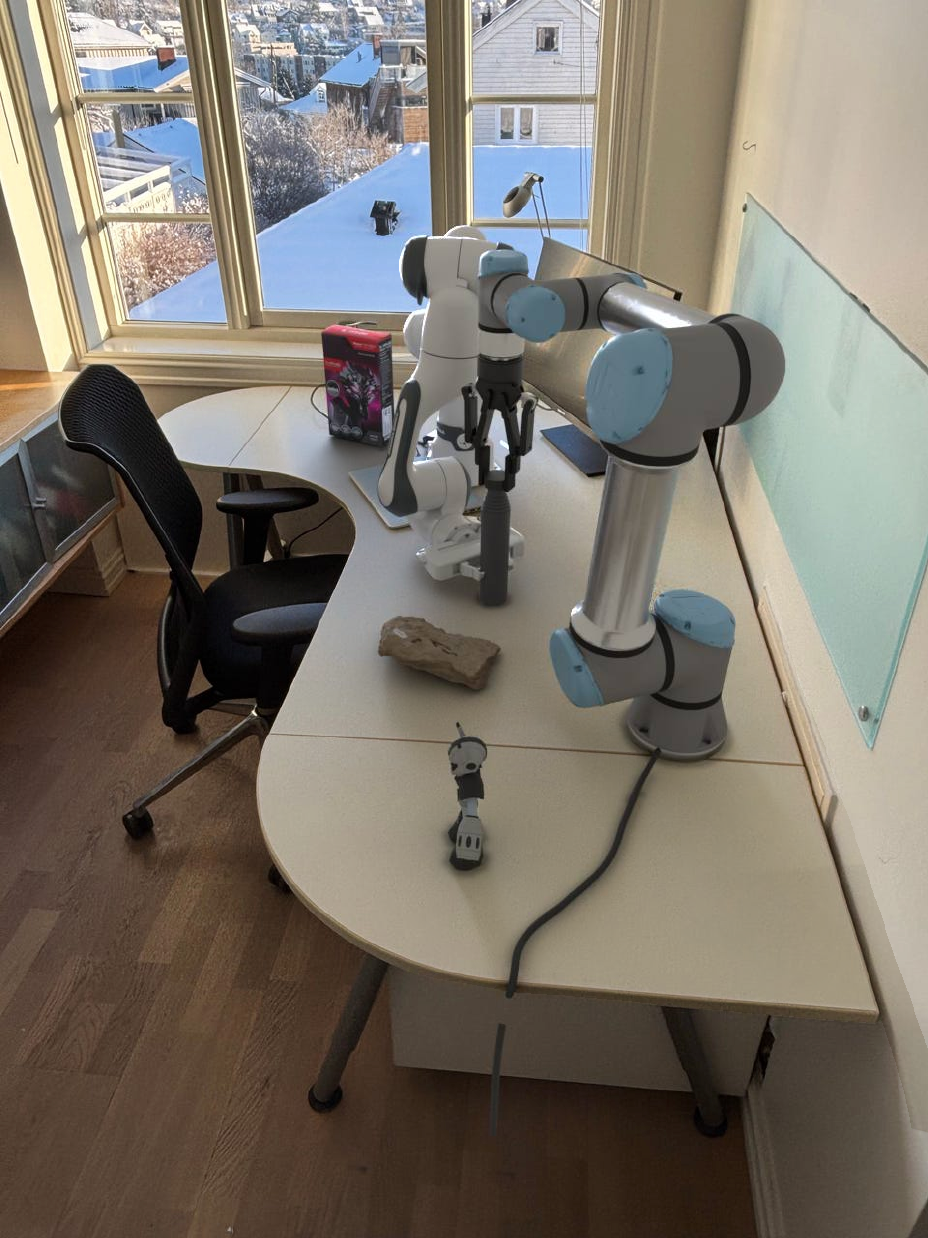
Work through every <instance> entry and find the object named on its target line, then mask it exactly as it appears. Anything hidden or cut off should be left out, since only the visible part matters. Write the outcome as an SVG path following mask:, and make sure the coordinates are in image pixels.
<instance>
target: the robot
mask: <svg viewBox="0 0 928 1238" xmlns="http://www.w3.org/2000/svg"><path fill="white" fill-rule="evenodd" d="M455 726H456V730H457V733H458V735H459V737H458V738H456V739H455V740H453V742H452V743H450V745H449V747H448V748H447V756H448V757H447V758H448V761H449V762H450V773H451V775H452V776H453V777H454V778H453V779H454V781H455V783H456V785H457V787H458V788H456V795H457V796H456V797H457V803H458V804H459V806H460V811H459V813H458V816H457V818H456V820H455V821H454V823H453V824H452V826H451V827H450V828H449V830H448V832H447V834H448V837H449V839H450V842H452V843H454V844H455V845H454V847H453V849H452V852H451V854H450V858H449V863H450V864H451V865H452V866H453V867H454V868H455V869H457V870H460V871H470V870H472V869H474V868H477V867H479V866H481V865H482V861H483V858H484V852H483V850H484V849H483V848H484V847H483V840H484V826H483V822H482V819H481V818H480V816H478V808H479V807H478V806H479V801H478V799H480V800H485V785H484V781H483V778H482V773H481V769H482V768H483V765H482V764H483V763H484V762H485V761H486V759H487V758H488V746H487V745H486V742H484V741H483V740H482V739H481V738H480V737H478V736H475V735H472V734H466V733H465V730H464V729H463V727H462V725H461V723H460V722H459V721H457V722H456V723H455Z"/></svg>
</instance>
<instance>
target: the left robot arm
mask: <svg viewBox="0 0 928 1238" xmlns="http://www.w3.org/2000/svg"><path fill="white" fill-rule="evenodd" d="M492 250H515V251H516V249H515V248H514V246H511V245H510V244H507V243H504V242H501V241H498V242H497V243H496V242H493V241H489V240H488V238H487V237H486V235H485V233H483V231H481V230H480V229H478V228H476V227H474V226H471V225H458V226H455V227H454V228H451V229H450V230H449V231H448V232H446V234H444V236H429V235H428V234H427V235H426V234H425V235H417V236H412V237H410V238H409V239H408V240H407V242H405V245H404V248H403V250H402V252H401V255H400V258H399V274H400V278H401V281H402V287H404V289H405V290H406V292H407V293H408V294H409V296H411V297H412V298H414V299H416V302H417V305H418V306H420V307H422V305H423V301H424V298H426V299H427V300H428V303H427V306H426V308H425V309H420V310H416V311H413V312H412V313H411V314H410V315H408V318H407V319H406V322H405V324H404V326H403V327H404V328H403V340H404V344H405V346H406V348H407V351H408V352H409V353H410V354H411V355H412V356H413V357H414V358H416V360H418V361H417V364H416V366H415V370H414V371H413V373H412V374H411V376H410V378H409V379H408V380H407V381H406V382H405V383H404V384H403V385H402V387H401V388H400V392H399V395H398V399H397V403H396V406H395V410H394V413H395V415H394V420H393V425H392V430H391V435H390V439H389V443H388V444H387V448H386V449H387V450H386V455H385V459H384V463H383V465H382V468H381V471H380V472H379V476H378V479H377V483H376V493H377V498H378V502H379V504H380V505H381V506H382V508H383V509H385V510H386V511H387V512H388V513H390V514H392V515H393V516H395V517H398V518H404V517H405V518H406V520H407V523H408V525H409V526H410V528H412V530H413V531H414V533H415V534H416V535H417V536H418V537H419V538H421V540H422V541H424V542H425V543H427V544H428V545H429V546H428V547H426V548H422V549H419V550H418V552H417V553H416V554H415V559H416V560H417V561H418V562H419V563H420V564H421V565H422V564H423V565H424V568H425V569H426V572H427V573H428V574H429V575H430V576H431V577H432V578H433V579H434V580H436V581H445V580H449V579H451V578H454V577H458V576H461V575H462V576H464V577H469V578H474V579H475V580H476V581H477V582H478V581H480V580H481V579H484V578H485V576H484V575H485V571H484V570H483V569H482V568H481V567H480V548H481V516H473V515H472V516H470V515H463V514H464V513H465V511H466V509H467V507H468V504H469V501H470V498H471V494H472V488H473V487H478V486H479V485H478V475H479V465H476V464H475V447H474V446H473V445H472V444H471V443H466V442H465V434H464V398H463V395H462V392H461V388H462V387H464V386H466V385H467V384H469V383H473V384H475V383H476V381H477V379H478V376H477V356H478V355H479V352H478V351H477V343H478V275H479V262H480V258H481V256H482V255H483V254H484V253H486V252H488V251H492ZM477 400H478V424H479V420H480V415H481V412H480V410H481V406H482V402H483V400H482V399H481V397H480V395H479V393H478V395H477ZM437 412H438V416H437V418H436V423H435V428H436V429H434V430H432V431H431V432H429V433H427V434H426V435H424V436H423V437H422V440H419V439H420V434H421V430H422V429H423V426H424V424H425V422H427V420H428V419H429V418H430V417H431V416H433V415H434V414H435V413H437ZM487 441H488V442H487V443H486V444H485V446H486V445H489V446H490V471H491V470H502V468H501V467H500V466H499V465H498V464H497V463H496V461H495V442H494V441H493V440H492V438H491V437H489V436H488V438H487ZM499 444H500V445H501V446H503V447H504V448H507V450H509V448H508V443H506V442H504V441H503V440H500V441H499ZM418 445H421V446H425V445H426V446H427V451H428V453H427V456H426V458H427V457H429V460H427V459H425V460H418V461H415V457H416V452H417V449H418V448H417V447H418ZM525 552H526V538H525V536H524V535H522V534H521V533H520V532H518V531H517V530H516V529H514V528H513V527H511V526H510V541H509V566H508V572H509V571H513V570H515V568H516V562H515V560H514V559H516V558H520V557H523V556H524V555H525Z"/></svg>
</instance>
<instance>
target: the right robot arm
mask: <svg viewBox="0 0 928 1238" xmlns="http://www.w3.org/2000/svg"><path fill="white" fill-rule="evenodd" d="M529 273H530V270H529V259H528V256H527V255H526V253H524V252H523V251H519V250H516V249H515V250H492V251H488V252H486V253H484V254H483V255H482V256H481V258H480V262H479V275H478V343H477V351H478V352H479V355H478V356H477V376H478V379H477V381H476V383H475V384H473V383H469V384H467V385H466V386H464V387H462V388H461V392H462V395H463V398H464V434H465V442H466V443H471V444H472V445H473V446H474V447H475V464H476V465H479V475H478V486H480V487H482V486H483V487H484V474H485V473H486V472H488V471H490V446H489V445H486V446H485V444H486V443H487V442H488V441H487V438H488V437H489V433H490V430H491V425H492V422H493V418H494V414H495V411H498V412H500V415H501V418H502V419H503V423H504V430H505V436H506V442H507V445H508V448H509V449H508V448H507V449H508V454H507V455H505V456H504V471H505V478H504V492H506V493H507V494H508V493H509V492H511V491H512V490H513V489H515V488H516V477H517V474H518V473H519V472H520V470H521V460H522V457H525V456H526V455H528V454H529V453H531V452H532V450H533V441H534V428H535V427H534V425H535V412H536V411H535V410H536V408H537V406H538V403H539V401H540V399H539V397H538V396H537V395H534V396H531V395H530V394H527V393H526V392H525V388H524V386H523V378H524V364H525V363H524V362H525V361H524V360H525V356H524V355H523V353H525V340H526V341H528V342H531V343H534V344H541V343H546V342H548V341H550V340H551V339H553V338H554V337H556V336H558V335H559V333H568V332H576V331H585V330H595V329H596V330H597V329H599V330H602V331H605V332H606V333H608V334H611V335H613V336H612V337H611V338H609V340H607V341H605V342H604V343H603V344H602V345H601V346H600V348H599V349H598V350H597V351H596V353H595V355H594V357H593V359H592V361H591V363H590V366H589V370H588V372H587V375H586V376H587V377H586V383H585V389H584V390H585V392H584V395H585V396H584V401H585V402H586V403H587V407H586V409H585V412H586V417H587V421H588V424H589V427H590V429H591V431H592V432H593V433H594V435H595V436H596V437H597V438H598V443H599V446H600V447H601V448H602V450H603V451H604V452H605V453H606V454H607V455H608V456H607V457H608V459H607V463H606V470H605V476H604V482H603V489H602V493H601V500H600V506H599V512H598V518H597V523H596V530H595V535H594V541H593V548H592V553H591V560H590V566H589V573H588V578H587V582H586V589H585V596H584V598H583V599H581V600H579V601H578V602H577V603H576V604H575V605H574V606H573V608H572V610H571V613H570V618H569V623H568V627H560V628H558V629H557V630H554V631H552V633H551V635H550V637H549V654H550V660H551V664H552V668H553V671H554V675H555V677H556V679H557V682H558V684H559V687H560V689H561V691H562V692H563V694H564V696H565V697H566V699H567V700H568V701H569V702H570V703H571V705H573V706H575V707H576V708H579V709H580V708H581V709H587V708H588V709H590V708H595V707H599V708H602V707H605V706H607V705H611V704H615V703H618V702H624V701H627V700H632V701H631V702H630V704H629V705H628V707H627V711H626V719H625V728H626V732H627V734H628V736H629V738H630V739H631V741H632V742H634V744H636V745H637V746H638V747H639V748H640V749H641V750H643V751H645V752H646V753H648V754H650V755H651V756H650V758H649V760H648V761H647V763H646V765H645V767H644V769H643V770H642V772H641V774H640V776H639V777H638V780H637V781H636V784H635V786H634V788H633V790H632V792H631V795H630V797H629V799H628V803H627V805H626V808H625V810H624V812H623V814H622V817H621V819H620V822H619V825H618V828H617V829H616V830H617V831H616V833H615V836H614V840H613V842H612V845H611V847H610V849H609V852H608V853H607V855H606V856H605V858H604V860H602V862H601V864H600V865H598V867H597V868H596V869H595V871H593V872H592V873H591V874H590V875H589V876H588V877H587V878H585V880H584V881H583V882H581V883H580V884H579V885H578V886H577V887H576V888H574V889H573V890H572V891H571V892H570V893H569V894H568V895H566V896H565V897H564V898H563V899H562V900H561V901H559V902H558V903H557V904H555V905H554V906H553V907H551V908H550V909H548V911H545V912H544V913H543V914H542V915H540V916H539V917H537V918H536V919H535V920H534V921H533V922H532V923H531V924H530V925H529V926H528V927H527V928H526V929H525V930H524V931H523V933H522V934H521V935H520V937H519V939H518V941H517V943H516V944H515V947H514V950H513V953H512V957H511V965H510V973H509V978H508V983H507V987H506V990H505V998H506V999H509V1000H510V999H512V998H513V997H514V996H515V992H516V988H517V982H518V978H519V971H520V962H521V958H522V957H521V956H522V953H523V950H524V948H525V946H526V944H527V943H528V941H529V939H530V938H531V937H532V936H533V934H534V933H535V932H536V931H537V930H538V929H539V928H541V927H542V926H543V925H544V924H546V923H547V922H548V921H550V920H551V919H552V918H554V917H555V916H557V915H559V913H561V912H562V911H564V910H565V909H566V908H567V907H568V906H569V905H570V904H572V903H573V901H575V900H576V899H577V898H578V897H579V896H580V895H582V894H583V893H584V892H585V891H586V890H587V889H589V887H591V886H592V885H593V884H594V883H596V881H597V880H598V879H599V878H600V877H601V876H602V875H603V874H604V872H605V871H606V870H607V869H608V868H609V866H610V865H611V864H612V862H613V860H614V858H615V857H616V855H617V853H618V851H619V848H620V845H621V842H622V841H623V837H624V834H625V832H626V831H625V830H626V827H627V824H628V822H629V819H630V817H631V814H632V812H633V810H634V807H635V805H636V803H637V800H638V797H639V796H640V792H641V790H642V788H643V786H644V785H645V781H646V779H647V778H648V776H649V774H650V772H651V771H652V769H653V767H654V766H655V763H656V761H657V760H658V758H659V759H662V760H666V761H670V762H675V763H694V762H700V761H703V760H706V759H709V758H711V757H714V755H716V754H718V752H720V751H721V750H722V748H723V747H724V744H725V743H726V740H727V739H726V738H727V734H728V721H727V716H726V712H725V708H724V707H725V706H724V701H723V692H724V686H725V682H726V678H727V672H728V668H729V664H730V659H731V654H732V651H733V647H734V645H735V642H736V640H735V634H736V627H737V626H736V617H735V616H734V614H733V612H732V611H731V609H730V608H729V607H728V606H727V605H726V604H724V603H723V602H722V601H720V600H719V599H717V598H715V597H713V596H710V595H709V594H706V593H703V592H699V591H696V590H692V589H683V588H679V589H676V588H675V589H668V590H665V591H663V592H661V593H660V594H659V595H658V597H656V599H655V601H654V602H653V609H652V610H649V609H650V605H651V601H652V596H653V592H654V587H655V583H656V579H657V575H658V571H659V570H658V569H659V566H660V561H661V556H662V552H663V547H664V543H665V538H666V536H667V535H666V534H667V531H668V525H669V521H670V517H671V513H672V508H673V505H674V504H673V503H674V499H675V495H676V490H677V485H678V482H679V478H680V472H681V468H682V467H684V466H687V465H688V464H690V463H691V462H693V461H694V460H695V459H696V457H697V456H698V453H699V449H700V445H701V441H702V437H703V433H704V432H705V431H706V430H712V429H713V430H714V429H719V428H724V427H725V428H726V427H730V426H737V425H740V424H742V423H745V422H748V421H750V420H752V419H754V418H755V417H757V416H758V415H760V414H761V413H762V412H764V411H765V410H766V409H767V408H769V406H770V405H771V404H772V402H773V401H774V400H775V398H776V396H777V395H778V394H779V392H780V389H781V388H782V385H783V383H784V378H785V373H786V358H785V353H784V349H783V346H782V345H783V344H781V342H780V339H779V338H778V337H777V335H776V334H775V333H774V332H773V331H772V330H771V329H770V328H769V327H767V326H766V325H764V324H763V323H761V322H759V321H757V320H754V319H753V318H749V317H747V316H744V315H741V314H739V313H734V312H726V313H722V314H718V315H716V314H714V313H710V312H708V311H706V310H702V309H700V308H698V307H695V306H692V305H689V304H687V303H685V302H681V301H680V300H676V299H673V298H671V297H669V296H666V295H663V294H661V293H658V292H656V291H653V290H650V289H648V285H647V283H646V282H644V278H643V277H642V276H641V275H639V274H637V273H631V272H630V273H623V272H614V273H611V274H602V275H601V274H600V275H592V276H579V277H566V278H565V277H564V278H552V279H539V280H534V279H532V278H531V277H529ZM478 393H479V395H480V397H481V399H482V400H483V402H482V406H481V410H480V412H481V415H480V420H479V424H478V400H477V395H478ZM519 402H521V405H520V408H521V409H522V410H521V416H520V426H519V420H518V405H517V404H518V403H519ZM506 1030H507V1024H503V1023H500V1022H499V1023H498V1025H497V1030H496V1037H495V1044H494V1050H493V1051H494V1052H493V1060H492V1068H491V1069H492V1071H491V1086H490V1087H491V1090H490V1091H491V1092H490V1117H489V1132H488V1133H489V1134H488V1135H489V1137H490V1138H496V1137H497V1130H498V1116H499V1114H498V1113H499V1091H500V1077H501V1076H500V1075H501V1064H502V1056H503V1055H502V1054H503V1048H504V1041H505V1035H506Z"/></svg>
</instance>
